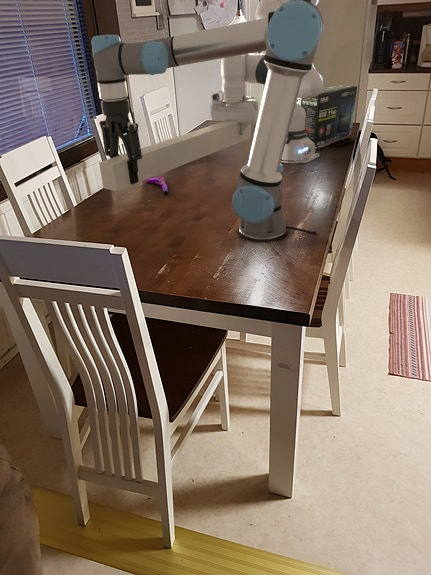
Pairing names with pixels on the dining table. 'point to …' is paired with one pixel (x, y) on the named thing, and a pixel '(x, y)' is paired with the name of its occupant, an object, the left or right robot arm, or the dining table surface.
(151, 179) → the handgun
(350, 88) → the router box
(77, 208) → the dining table surface
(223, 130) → the beam
